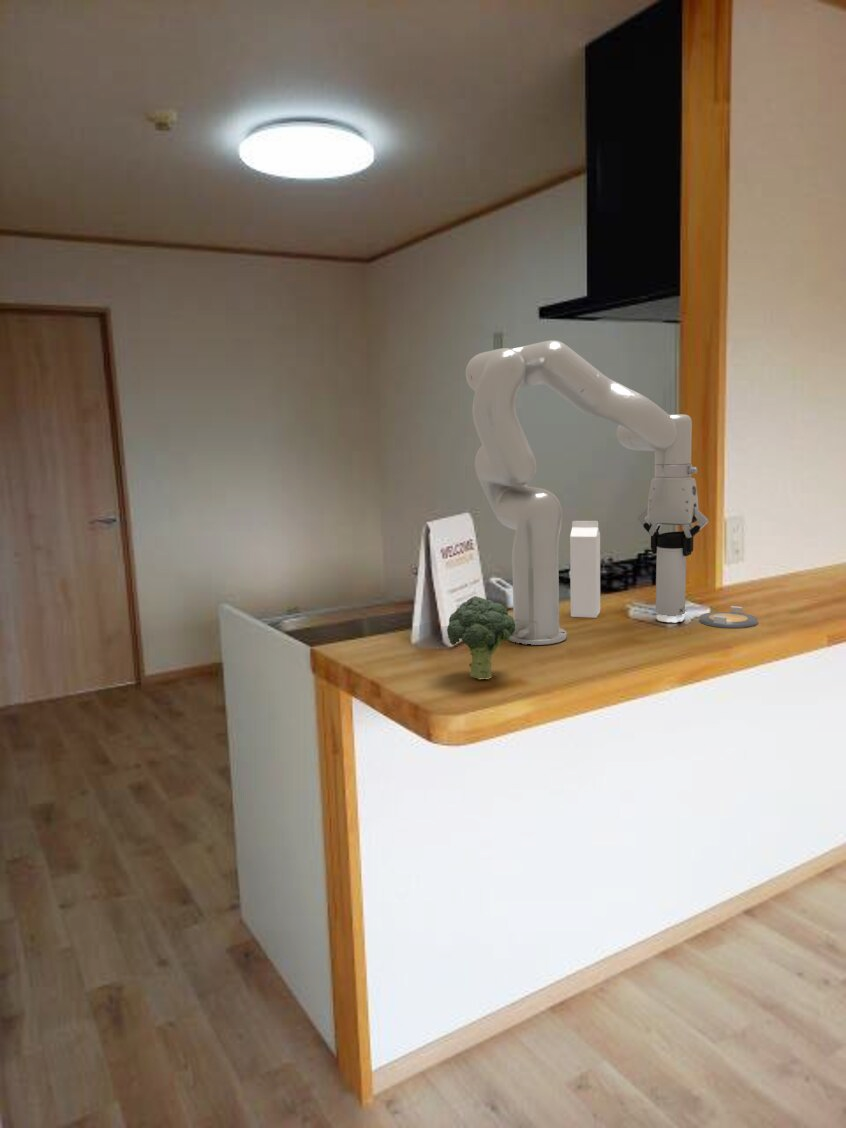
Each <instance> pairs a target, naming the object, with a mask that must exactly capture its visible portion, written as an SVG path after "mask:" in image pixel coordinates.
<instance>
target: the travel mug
mask: <svg viewBox="0 0 846 1128" xmlns="http://www.w3.org/2000/svg"><path fill="white" fill-rule="evenodd" d="M683 538H685V533H684V530H682V531H670V532H664V533H659V535H658V537H657V542H658V543H657V553H656V564H655V565H656V571H655V572H656V574H655V577H656V578H655V613H656V612H657V613H658V614H661V615H667V616H676V615H682V614H686V587H687V586H686V582H687V581H686V580H687V579H686V578H687V577H686V576H687V556H684V555H683Z"/></svg>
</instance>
